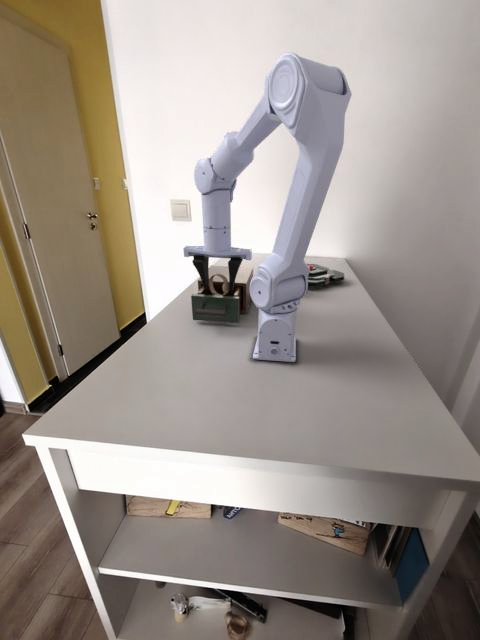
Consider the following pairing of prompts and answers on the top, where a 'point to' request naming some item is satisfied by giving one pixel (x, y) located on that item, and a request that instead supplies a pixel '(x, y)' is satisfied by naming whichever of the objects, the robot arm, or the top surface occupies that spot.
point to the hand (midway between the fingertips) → (219, 289)
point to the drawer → (217, 305)
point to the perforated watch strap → (225, 285)
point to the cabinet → (241, 279)
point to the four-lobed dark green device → (322, 275)
